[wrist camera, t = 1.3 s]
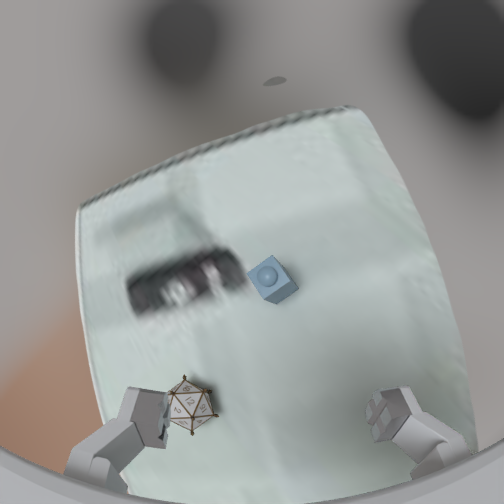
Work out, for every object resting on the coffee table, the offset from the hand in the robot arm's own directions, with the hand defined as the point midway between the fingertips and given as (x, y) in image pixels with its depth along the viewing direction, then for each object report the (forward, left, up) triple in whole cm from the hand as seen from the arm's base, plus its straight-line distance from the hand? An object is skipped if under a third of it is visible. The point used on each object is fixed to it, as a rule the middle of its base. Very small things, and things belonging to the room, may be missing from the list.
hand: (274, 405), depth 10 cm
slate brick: (+9, -7, -33) cm, 34 cm away
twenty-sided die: (+15, +15, -33) cm, 39 cm away
